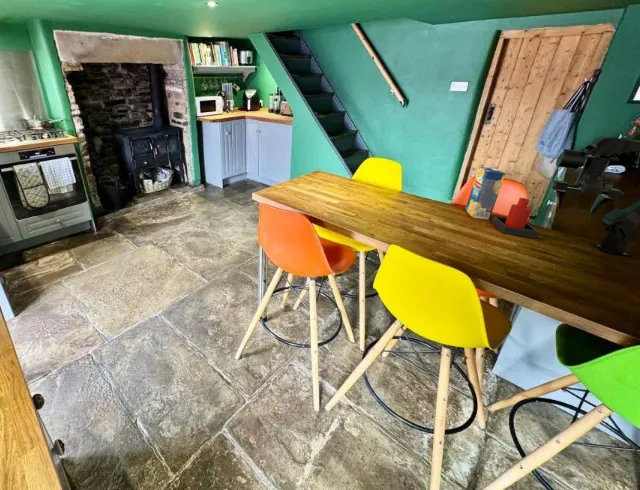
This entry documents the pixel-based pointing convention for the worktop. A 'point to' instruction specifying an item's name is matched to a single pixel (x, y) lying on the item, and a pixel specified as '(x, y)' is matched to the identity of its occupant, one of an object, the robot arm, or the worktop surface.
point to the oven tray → (525, 232)
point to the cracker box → (484, 192)
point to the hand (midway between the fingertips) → (574, 210)
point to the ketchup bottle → (518, 214)
